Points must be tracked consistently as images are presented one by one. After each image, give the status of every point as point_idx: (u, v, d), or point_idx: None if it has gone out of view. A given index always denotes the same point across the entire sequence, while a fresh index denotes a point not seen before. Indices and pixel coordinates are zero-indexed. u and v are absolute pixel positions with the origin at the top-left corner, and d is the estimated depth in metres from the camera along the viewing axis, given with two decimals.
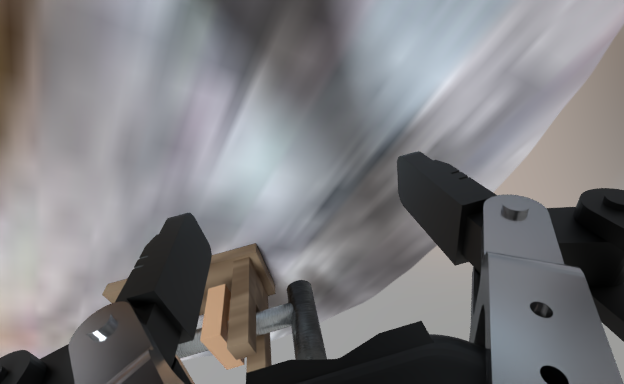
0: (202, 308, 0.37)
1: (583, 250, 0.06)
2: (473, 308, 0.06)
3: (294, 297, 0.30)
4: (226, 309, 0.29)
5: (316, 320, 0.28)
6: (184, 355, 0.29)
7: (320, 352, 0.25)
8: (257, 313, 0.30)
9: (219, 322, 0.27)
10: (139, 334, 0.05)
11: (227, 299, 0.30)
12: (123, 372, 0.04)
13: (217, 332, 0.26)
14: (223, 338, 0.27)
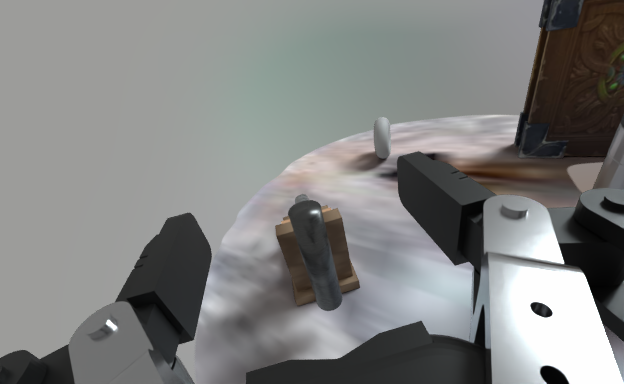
0: None
1: (583, 250, 0.06)
2: (473, 308, 0.06)
3: None
4: None
5: (330, 277, 0.27)
6: None
7: (327, 252, 0.25)
8: None
9: None
10: (139, 334, 0.05)
11: None
12: (123, 372, 0.04)
13: None
14: None
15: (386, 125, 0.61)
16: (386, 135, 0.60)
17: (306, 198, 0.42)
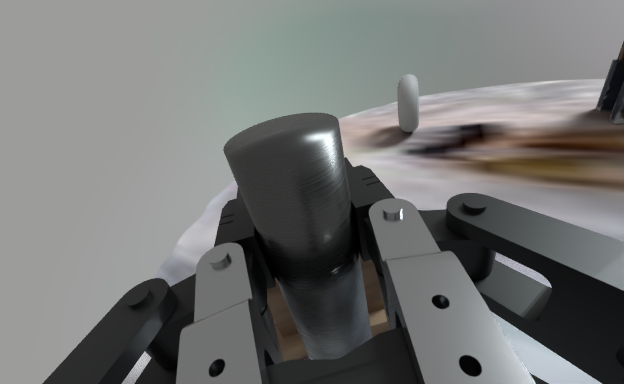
0: None
1: (444, 247, 0.06)
2: (386, 310, 0.07)
3: None
4: None
5: (357, 342, 0.10)
6: None
7: (353, 275, 0.08)
8: None
9: None
10: (244, 279, 0.06)
11: None
12: (227, 310, 0.05)
13: None
14: None
15: (416, 83, 0.44)
16: (416, 96, 0.43)
17: None
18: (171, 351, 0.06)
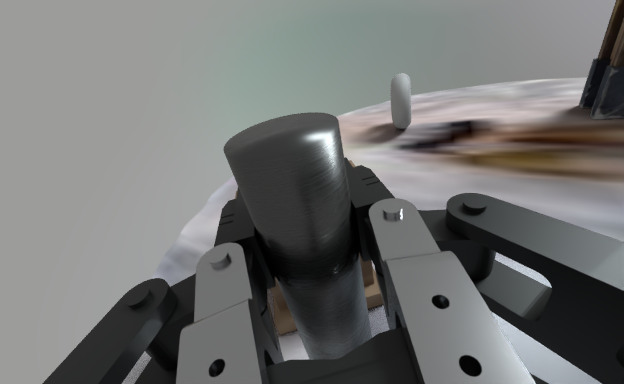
0: None
1: (444, 247, 0.06)
2: (386, 310, 0.07)
3: None
4: None
5: (357, 341, 0.10)
6: None
7: (353, 275, 0.08)
8: None
9: None
10: (244, 279, 0.06)
11: None
12: (227, 310, 0.05)
13: None
14: None
15: (408, 81, 0.46)
16: (408, 94, 0.45)
17: None
18: (171, 351, 0.06)
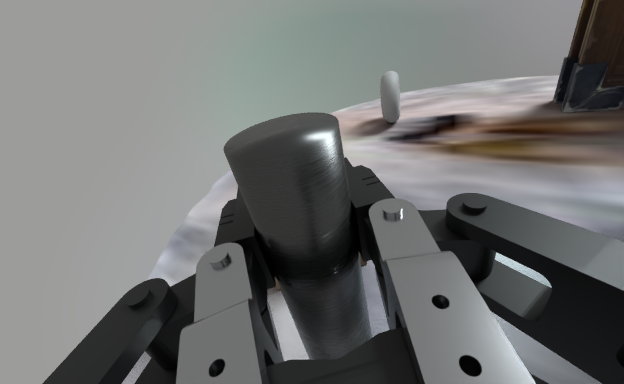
0: None
1: (445, 247, 0.06)
2: (386, 310, 0.07)
3: None
4: None
5: (357, 341, 0.10)
6: None
7: (353, 275, 0.08)
8: None
9: None
10: (244, 279, 0.06)
11: None
12: (227, 310, 0.05)
13: None
14: None
15: (396, 78, 0.50)
16: (396, 90, 0.49)
17: None
18: (171, 351, 0.06)
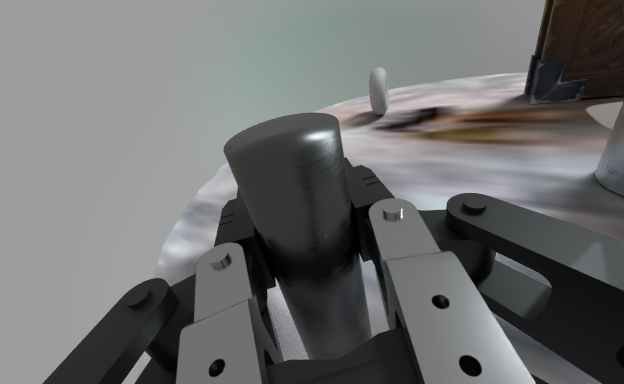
0: None
1: (444, 247, 0.06)
2: (386, 310, 0.07)
3: None
4: None
5: (357, 342, 0.10)
6: None
7: (353, 275, 0.08)
8: None
9: None
10: (244, 279, 0.06)
11: None
12: (227, 310, 0.05)
13: None
14: None
15: (383, 74, 0.55)
16: (383, 84, 0.55)
17: None
18: (171, 351, 0.06)
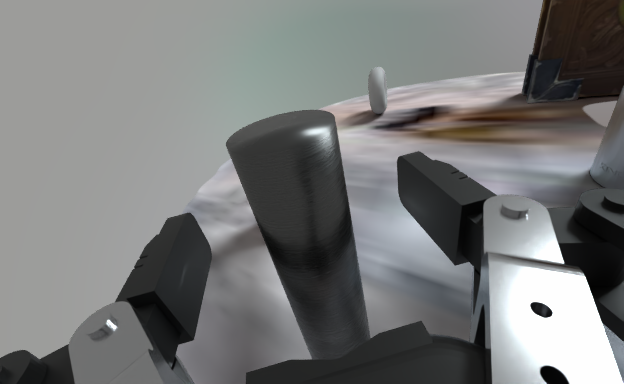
0: None
1: (583, 250, 0.06)
2: (473, 308, 0.06)
3: None
4: None
5: (354, 331, 0.10)
6: None
7: (349, 266, 0.09)
8: None
9: None
10: (139, 334, 0.05)
11: None
12: (123, 372, 0.04)
13: None
14: None
15: (382, 73, 0.56)
16: (382, 84, 0.55)
17: None
18: None
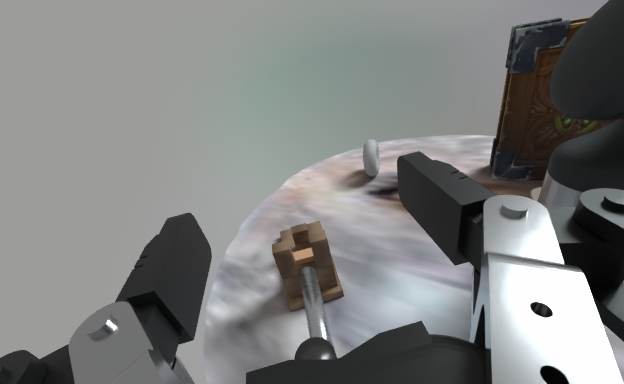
0: None
1: (583, 250, 0.06)
2: (473, 308, 0.06)
3: None
4: None
5: None
6: (309, 287, 0.35)
7: None
8: None
9: None
10: (139, 334, 0.05)
11: None
12: (123, 372, 0.04)
13: None
14: None
15: (374, 147, 0.67)
16: (374, 156, 0.67)
17: (312, 272, 0.37)
18: None
